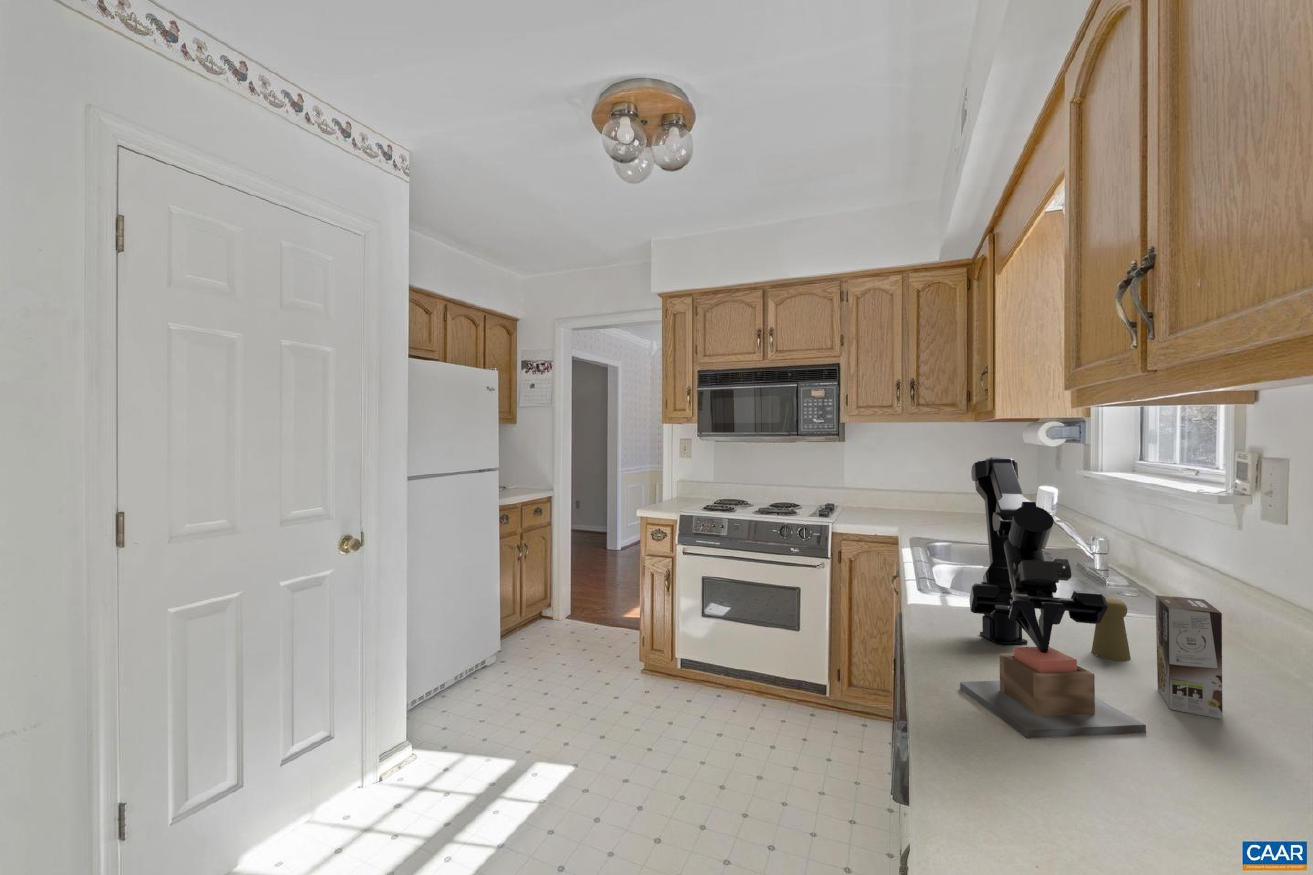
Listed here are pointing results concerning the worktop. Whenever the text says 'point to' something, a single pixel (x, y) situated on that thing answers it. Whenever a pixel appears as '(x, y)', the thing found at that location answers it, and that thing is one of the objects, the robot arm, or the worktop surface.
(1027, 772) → the worktop surface
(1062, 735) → the stand
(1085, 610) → the robot arm
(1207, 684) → the coffee box
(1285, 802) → the worktop surface
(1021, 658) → the pink eraser block
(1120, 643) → the cork
